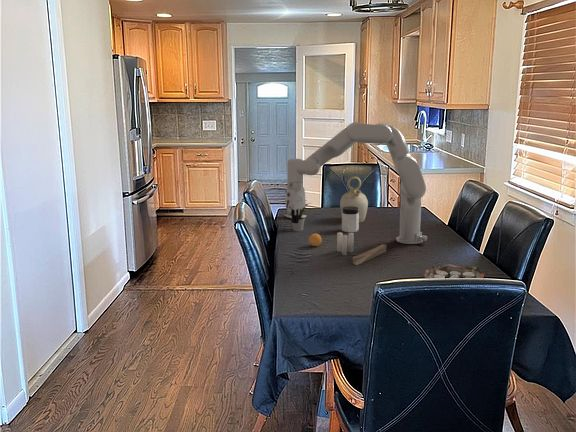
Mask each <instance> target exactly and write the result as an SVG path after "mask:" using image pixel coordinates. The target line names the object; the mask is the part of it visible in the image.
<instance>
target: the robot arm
mask: <svg viewBox="0 0 576 432" xmlns="http://www.w3.org/2000/svg"><path fill="white" fill-rule="evenodd" d="M357 143H361V144H377V145H385V146H386V147H387V149H388V151H389V154H390V157H391V159H392V163H393V166H394V170H395V171H396V172H397V174H398V176H399V178H400V180H401V182H400V186H399V193H400V194H399V195H400V211H399V214H400V215H399V236H397V237H395V240H396V242H397V243H400V244H405V245H418V244H419V245H420V244H421V243H423V242H424V241H426V242H427V240H428V236H427V235H424V234H423V232H422V231H421V218H422V217H421V216H422V198H423V197H424V196H425V194H426V191H427V185H426V182H425V178H424V176H423V174H422V170H421V167H420V165H419V163H418V161H417V160H416V159H415V158H414V157H413V156H412V154H411V151H410V148H409V147H408V143H407V141H406V139H405V136H404V135H403V134H402V133H401V131H400V129H397V127H394V126H393V125H391V124H388V123H383V122H382V123H381V122H380V123H376V124H373V123H371V124H370V123H362V122H361V123H360V122H358V121H356V122H355V121H354V122H351V123H350V124H349V125H347V126H346V127H345V128H343V129H342V130H341V131H340V132H338V133H337V134H336V135H335V136H333V137H332V138H331V139H329V140H328V141H327V142H326V143H325V144H323V145H322V146H321V147H319V148H318V149H316V150H315V151H314V152H313V153H312V154H311V155H309V156H308V157H307V158H306V159H305V160H303V159H301V158H290V159H288V160H287V166H286V167H287V171H286V172H287V174H286V175H287V176H286V177H287V178H286V180H287V181H286V183H287V185H286V190H287V192H285V208H286V213H287V212H290V213H291V218H290V219H291V224H292V223H299V214H300V210H302V209H303V208H304V207H305V205H306V204H307V203H306V202H307V201H306V191H305V187H304V175H306V176H315V175H317V174H318V173H319V171H320V168H322V167H323V166H324V165H325V164H327V163H328V162H329V161H331V160H332V159H334V158H338V157H340V156H342V155H343V154H344V153H345V152H347V150H349V149H350V148H352V147H353V146H354V145H355V144H357ZM304 209H305V208H304ZM293 210H294V211H293Z"/></svg>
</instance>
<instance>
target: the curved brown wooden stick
mask: <svg viewBox="0 0 576 432" xmlns="http://www.w3.org/2000/svg"><path fill="white" fill-rule="evenodd" d="M386 252H387V245H386V244H381V245H378V246H376V247H374V248H372V249H369V250H367V251H365V252H363V253H360V254H358V255H355V256H353V257H352V264H353V265H355V266H358V265H360V264H362V263H365V262H367V261H369V260H372V259H373V258H375V257H377V256H380V255H382V254H384V253H386Z"/></svg>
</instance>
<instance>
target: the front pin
mask: <svg viewBox="0 0 576 432" xmlns="http://www.w3.org/2000/svg"><path fill="white" fill-rule="evenodd" d="M342 235H344V234H343V232H336V243H337V244H336V252H337V253H342Z"/></svg>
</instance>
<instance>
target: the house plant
mask: <svg viewBox="0 0 576 432" xmlns="http://www.w3.org/2000/svg"><path fill="white" fill-rule="evenodd" d="M305 201H306V202H307V200H306V199H305ZM308 205H311V202H309V203H306V205H305V207H307V206H308ZM305 207H304V208H303V209H302V210H300V214H299V223H292V222H291V224H292V230H293V231H294V232H302V231H303V230H304V227H305V225H304V224H305V218H306V217H305V218H303V217H302V214H303V215H306V216H307V215H308V213H309V211H305V210H306V208H305ZM293 211H294V210H293ZM309 214H310V213H309ZM289 215H291V214H289Z"/></svg>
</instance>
